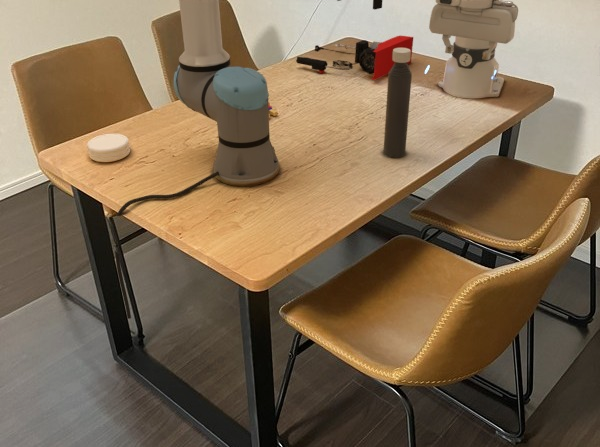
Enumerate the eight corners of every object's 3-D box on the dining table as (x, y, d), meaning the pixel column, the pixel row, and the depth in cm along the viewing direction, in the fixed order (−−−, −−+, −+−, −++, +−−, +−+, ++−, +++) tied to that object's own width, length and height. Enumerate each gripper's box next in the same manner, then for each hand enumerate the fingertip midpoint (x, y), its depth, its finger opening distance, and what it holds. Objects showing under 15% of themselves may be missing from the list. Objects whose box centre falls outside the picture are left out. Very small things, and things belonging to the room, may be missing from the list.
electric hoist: (295, 37, 203) (374, 52, 188) (338, 23, 222) (414, 35, 207) (294, 67, 208) (372, 84, 193) (337, 51, 227) (411, 65, 212)
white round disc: (100, 166, 148) (97, 153, 146) (82, 153, 155) (79, 140, 153) (137, 154, 154) (135, 141, 152) (119, 141, 160) (116, 129, 158)
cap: (413, 61, 139) (414, 51, 138) (396, 63, 138) (397, 53, 137) (405, 56, 143) (406, 46, 141) (389, 58, 142) (389, 48, 140)
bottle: (408, 155, 152) (417, 54, 138) (388, 159, 150) (396, 56, 137) (399, 147, 156) (407, 47, 142) (379, 150, 154) (386, 49, 141)
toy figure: (281, 107, 173) (253, 94, 180) (262, 114, 169) (235, 100, 176) (281, 115, 175) (253, 102, 182) (262, 122, 171) (235, 108, 178)
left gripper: (410, -82, 149) (403, 9, 160) (338, -89, 165) (337, -6, 176) (388, -79, 145) (383, 15, 156) (317, -87, 161) (317, -2, 172)
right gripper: (523, -1, 142) (513, 59, 150) (440, -10, 152) (434, 46, 159) (515, 5, 138) (505, 66, 145) (429, -5, 147) (424, 52, 155)
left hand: (358, 4), depth 166 cm, fingers open, 13 cm apart
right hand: (467, 55), depth 152 cm, fingers open, 8 cm apart
